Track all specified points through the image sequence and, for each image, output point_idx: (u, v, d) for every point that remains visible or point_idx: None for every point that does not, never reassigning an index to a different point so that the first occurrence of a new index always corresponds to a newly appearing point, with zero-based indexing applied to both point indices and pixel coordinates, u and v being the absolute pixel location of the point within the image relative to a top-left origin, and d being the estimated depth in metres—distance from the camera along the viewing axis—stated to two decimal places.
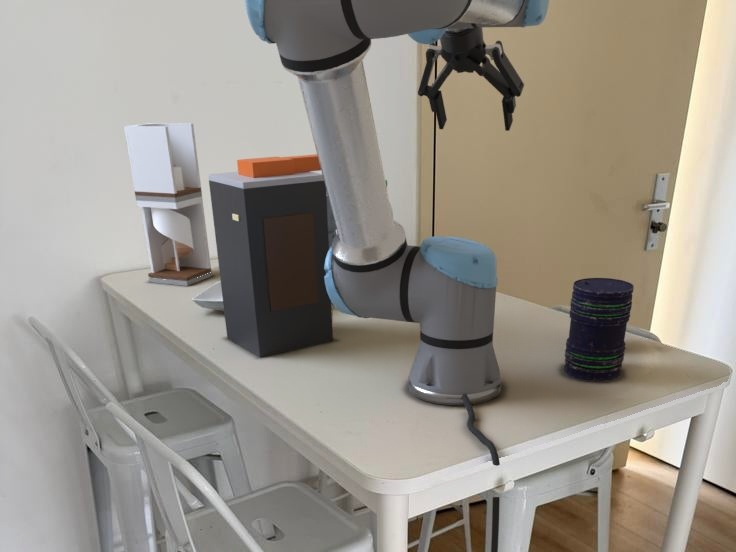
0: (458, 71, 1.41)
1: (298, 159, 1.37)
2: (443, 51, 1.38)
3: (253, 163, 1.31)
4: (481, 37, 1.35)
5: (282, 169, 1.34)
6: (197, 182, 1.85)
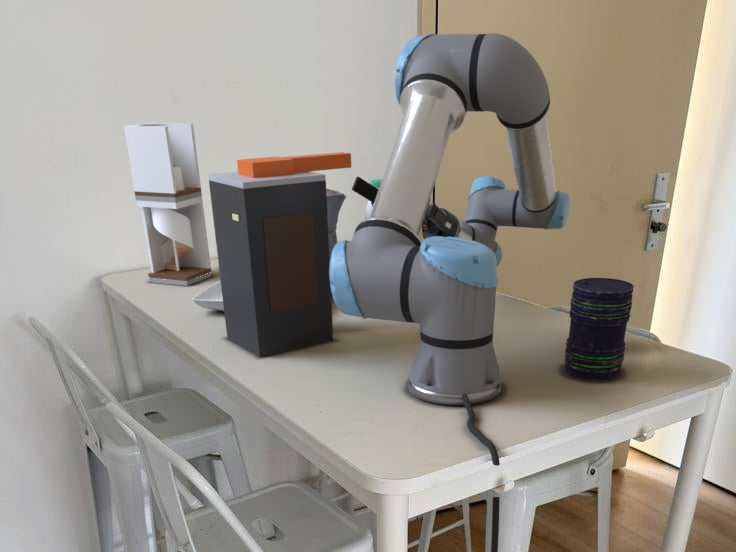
0: None
1: (298, 159, 1.37)
2: None
3: (253, 163, 1.31)
4: None
5: (282, 169, 1.34)
6: (197, 182, 1.85)
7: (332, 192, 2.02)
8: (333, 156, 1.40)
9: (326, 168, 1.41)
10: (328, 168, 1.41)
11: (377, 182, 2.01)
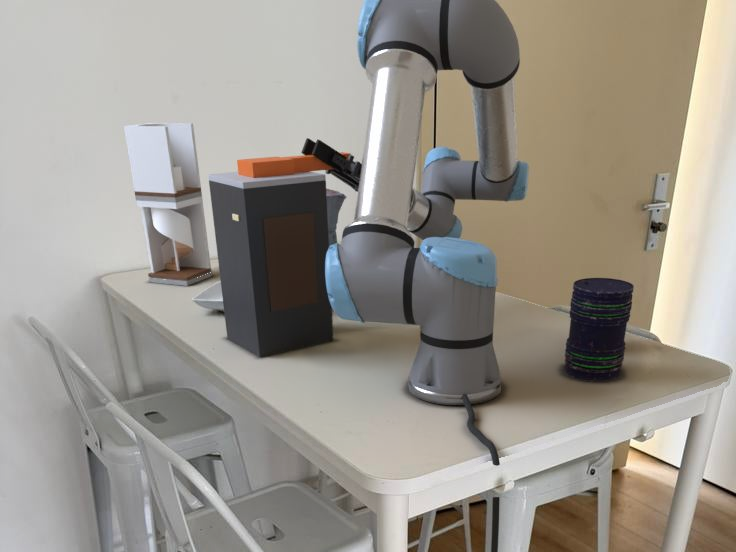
0: None
1: (298, 159, 1.37)
2: None
3: (253, 163, 1.31)
4: None
5: (282, 169, 1.34)
6: (197, 182, 1.85)
7: (332, 192, 2.02)
8: None
9: (326, 168, 1.41)
10: (328, 168, 1.41)
11: None
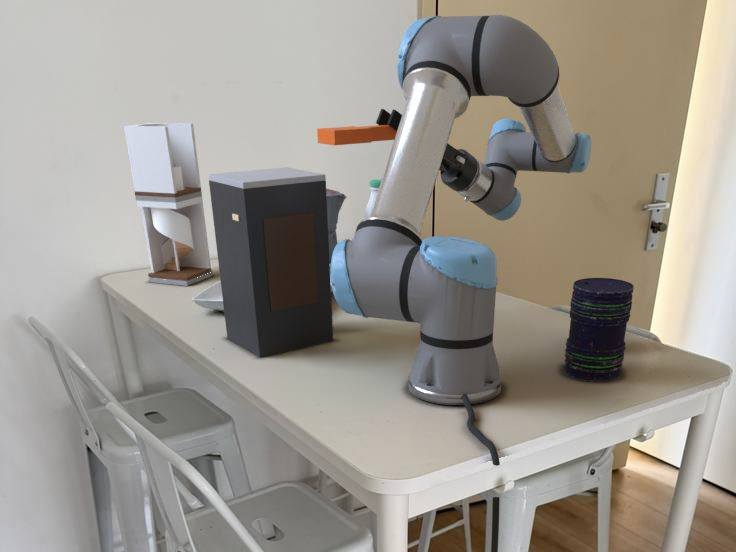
0: None
1: (375, 128, 1.43)
2: None
3: (335, 131, 1.37)
4: (467, 168, 1.56)
5: (360, 137, 1.40)
6: (197, 182, 1.85)
7: (332, 192, 2.02)
8: None
9: None
10: None
11: (377, 182, 2.01)
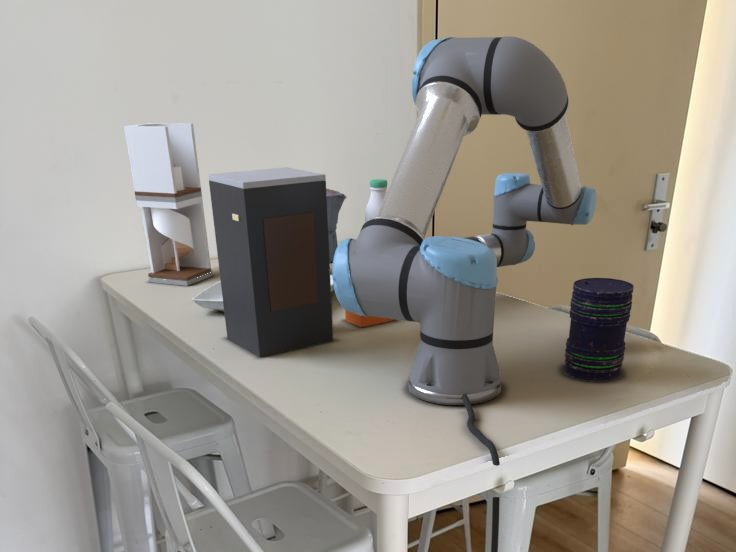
0: None
1: None
2: None
3: (361, 316, 1.57)
4: None
5: None
6: (197, 182, 1.85)
7: (332, 192, 2.02)
8: None
9: None
10: None
11: (377, 182, 2.01)
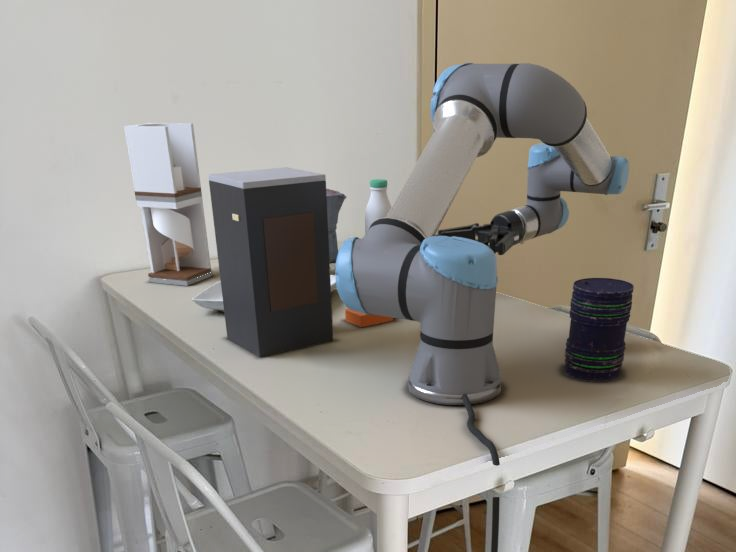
0: (480, 231, 1.71)
1: None
2: None
3: (361, 316, 1.57)
4: None
5: (383, 317, 1.60)
6: (197, 182, 1.85)
7: (332, 192, 2.02)
8: None
9: None
10: None
11: (377, 182, 2.01)
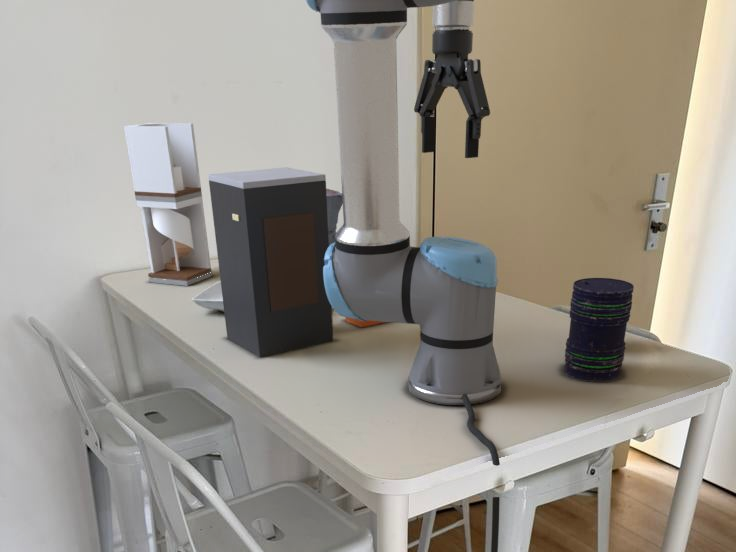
0: (443, 84, 1.48)
1: None
2: (436, 61, 1.47)
3: None
4: (464, 49, 1.42)
5: None
6: (197, 182, 1.85)
7: (332, 192, 2.02)
8: None
9: None
10: None
11: None
